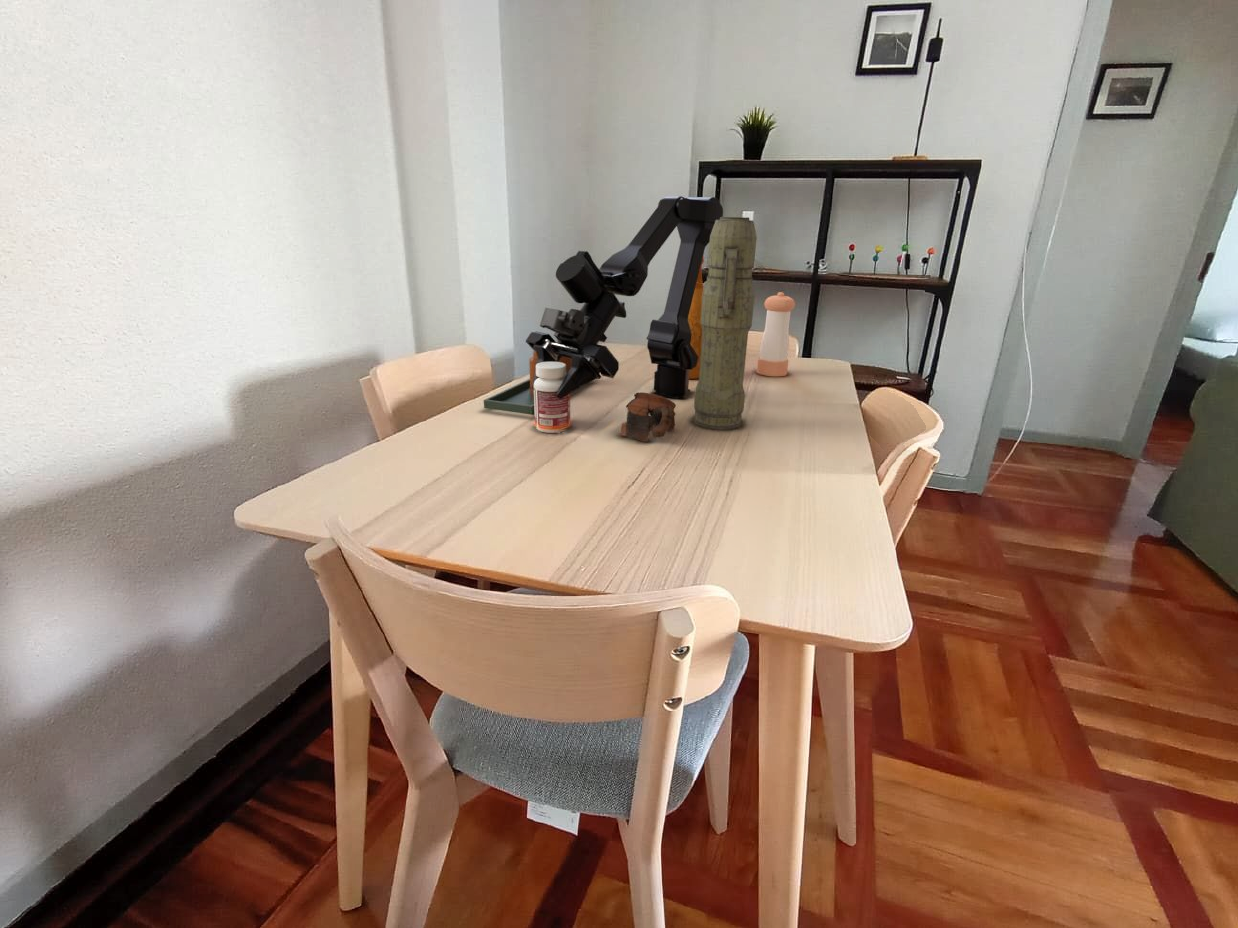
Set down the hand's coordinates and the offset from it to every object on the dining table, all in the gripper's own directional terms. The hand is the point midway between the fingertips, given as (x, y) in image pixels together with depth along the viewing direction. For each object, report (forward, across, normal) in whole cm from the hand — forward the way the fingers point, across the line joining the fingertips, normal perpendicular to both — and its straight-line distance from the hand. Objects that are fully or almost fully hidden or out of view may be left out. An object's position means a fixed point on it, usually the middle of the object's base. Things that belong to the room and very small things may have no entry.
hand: (545, 393), depth 104 cm
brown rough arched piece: (-3, +14, +13) cm, 19 cm away
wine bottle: (-31, -8, +41) cm, 52 cm away
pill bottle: (+4, 0, +6) cm, 7 cm away
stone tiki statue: (-14, +18, +23) cm, 32 cm away
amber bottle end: (-11, -21, +20) cm, 31 cm away
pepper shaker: (-43, +4, +53) cm, 68 cm away
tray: (-5, -17, +14) cm, 22 cm away
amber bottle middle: (-5, -17, +13) cm, 22 cm away
